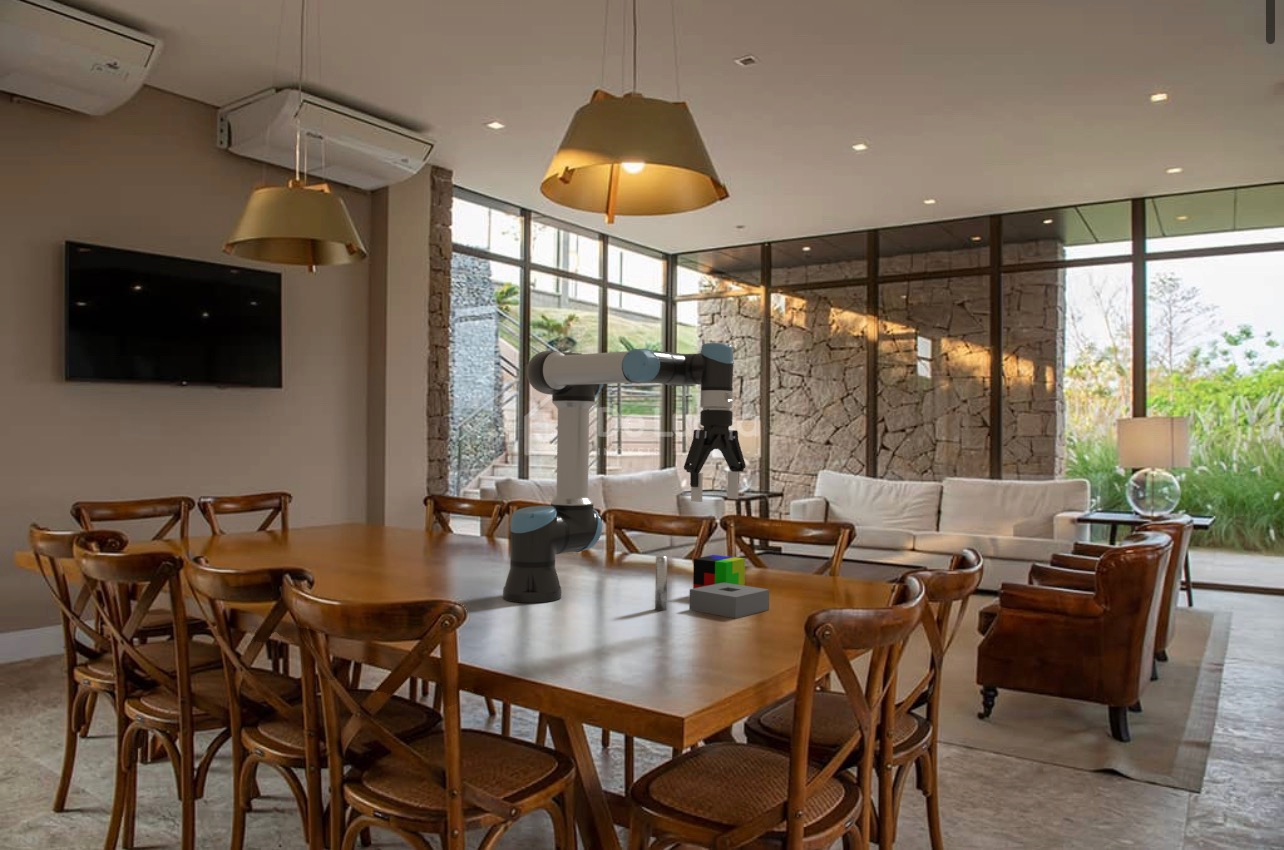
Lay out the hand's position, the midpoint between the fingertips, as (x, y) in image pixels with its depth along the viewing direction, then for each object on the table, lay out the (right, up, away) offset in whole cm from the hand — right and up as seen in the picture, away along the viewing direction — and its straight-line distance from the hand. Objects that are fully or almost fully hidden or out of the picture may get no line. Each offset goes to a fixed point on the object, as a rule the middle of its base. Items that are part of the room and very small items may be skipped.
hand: (715, 500), depth 203 cm
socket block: (+4, -28, +11) cm, 31 cm away
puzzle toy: (+3, -28, +30) cm, 41 cm away
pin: (-13, -28, +10) cm, 32 cm away
